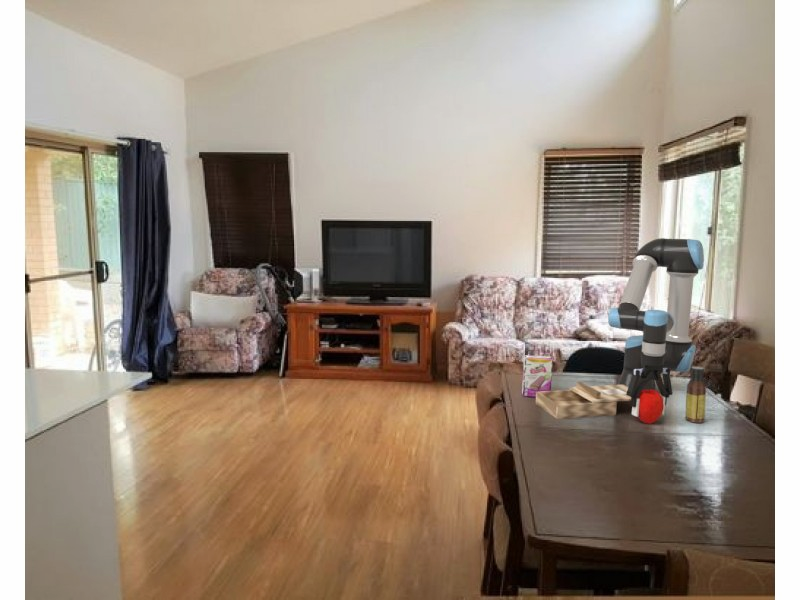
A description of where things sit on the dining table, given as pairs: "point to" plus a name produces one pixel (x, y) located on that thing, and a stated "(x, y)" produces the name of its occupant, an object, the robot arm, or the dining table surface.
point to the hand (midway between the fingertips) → (647, 414)
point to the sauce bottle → (696, 396)
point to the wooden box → (572, 405)
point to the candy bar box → (536, 375)
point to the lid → (602, 392)
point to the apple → (650, 406)
